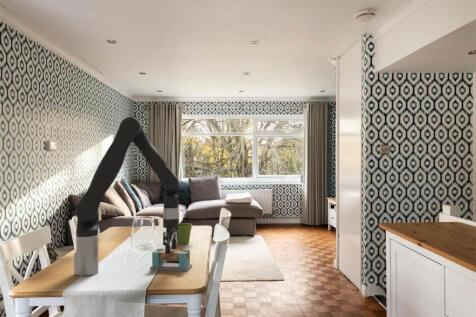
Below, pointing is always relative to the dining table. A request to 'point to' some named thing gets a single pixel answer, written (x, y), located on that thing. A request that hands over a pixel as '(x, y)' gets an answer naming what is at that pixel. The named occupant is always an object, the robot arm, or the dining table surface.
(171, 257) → the rail
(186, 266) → the bracket stand
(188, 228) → the plant pot
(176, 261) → the sunglasses case
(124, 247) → the dining table surface
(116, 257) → the dining table surface
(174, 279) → the dining table surface
